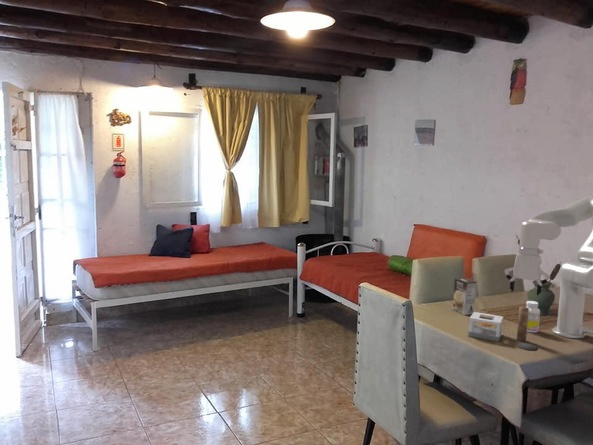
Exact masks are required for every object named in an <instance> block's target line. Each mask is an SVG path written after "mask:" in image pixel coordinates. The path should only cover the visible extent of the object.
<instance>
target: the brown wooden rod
mask: <svg viewBox="0 0 593 445" xmlns="http://www.w3.org/2000/svg"><path fill="white" fill-rule="evenodd" d="M528 312H529V308H528V307H527V306H519V308H518V318H517V328H516V329H517V332H516V341H517V342H519V343H527V335H528V334H527V333H528V332H527V324H528Z"/></svg>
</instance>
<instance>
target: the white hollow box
mask: <svg viewBox="0 0 593 445" xmlns="http://www.w3.org/2000/svg"><path fill="white" fill-rule="evenodd" d="M477 322H478V323H481V322H483V323H489V324H491V325H496V328H492V327H485V326H482V325H481V326H479V325H477ZM503 324H504V316H501V315H496V314H489V313H484V312H483V313H482V312H477V311H474V313H473V314H470V317H469V323H468V335H467V336H468V337H471V338H476V339H482V340H487V341H492V342H499V341H500V339H501V337H502V335H503Z"/></svg>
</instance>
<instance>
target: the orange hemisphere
mask: <svg viewBox="0 0 593 445" xmlns="http://www.w3.org/2000/svg"><path fill="white" fill-rule="evenodd" d="M480 325H481V327H486V328H491V327H492V324H489V323H483V322H480Z"/></svg>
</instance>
